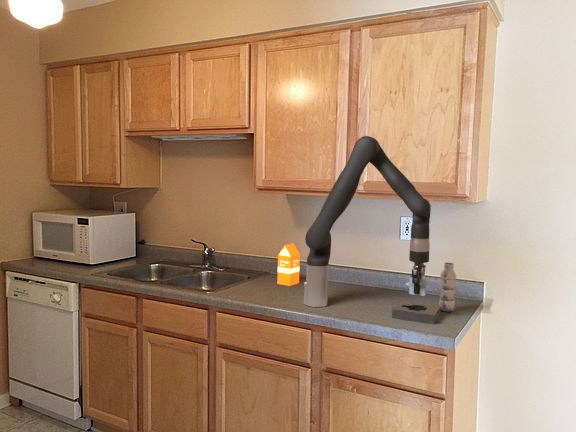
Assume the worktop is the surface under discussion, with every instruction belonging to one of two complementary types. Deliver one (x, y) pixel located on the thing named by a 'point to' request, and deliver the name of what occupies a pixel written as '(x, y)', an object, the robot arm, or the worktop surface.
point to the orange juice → (288, 265)
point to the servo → (422, 286)
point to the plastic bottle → (447, 288)
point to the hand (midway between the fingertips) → (417, 292)
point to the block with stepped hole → (416, 312)
